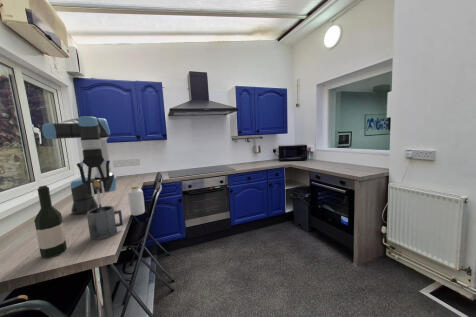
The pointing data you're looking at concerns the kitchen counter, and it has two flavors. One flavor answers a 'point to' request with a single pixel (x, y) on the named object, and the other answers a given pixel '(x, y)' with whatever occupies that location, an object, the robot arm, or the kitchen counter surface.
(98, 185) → the plunger
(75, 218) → the kitchen counter surface
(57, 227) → the wine bottle
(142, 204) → the white rounded cylinder
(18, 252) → the kitchen counter surface
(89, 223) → the dark grey mug
